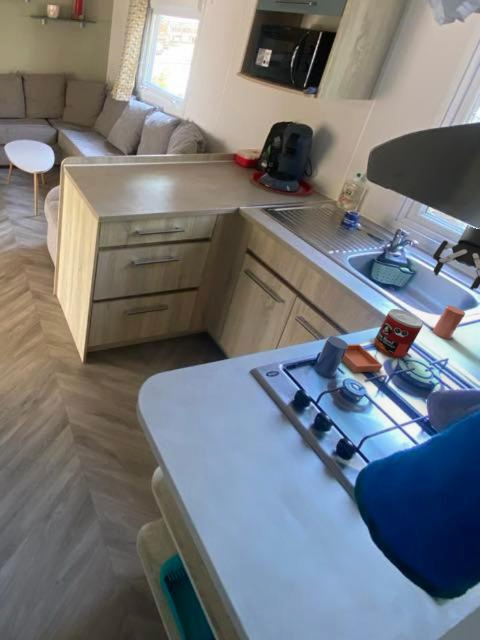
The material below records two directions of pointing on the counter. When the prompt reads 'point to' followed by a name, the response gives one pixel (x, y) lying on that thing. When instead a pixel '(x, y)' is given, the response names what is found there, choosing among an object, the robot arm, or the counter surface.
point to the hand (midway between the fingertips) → (453, 281)
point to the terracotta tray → (360, 359)
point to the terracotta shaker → (448, 321)
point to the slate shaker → (331, 356)
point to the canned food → (398, 333)
